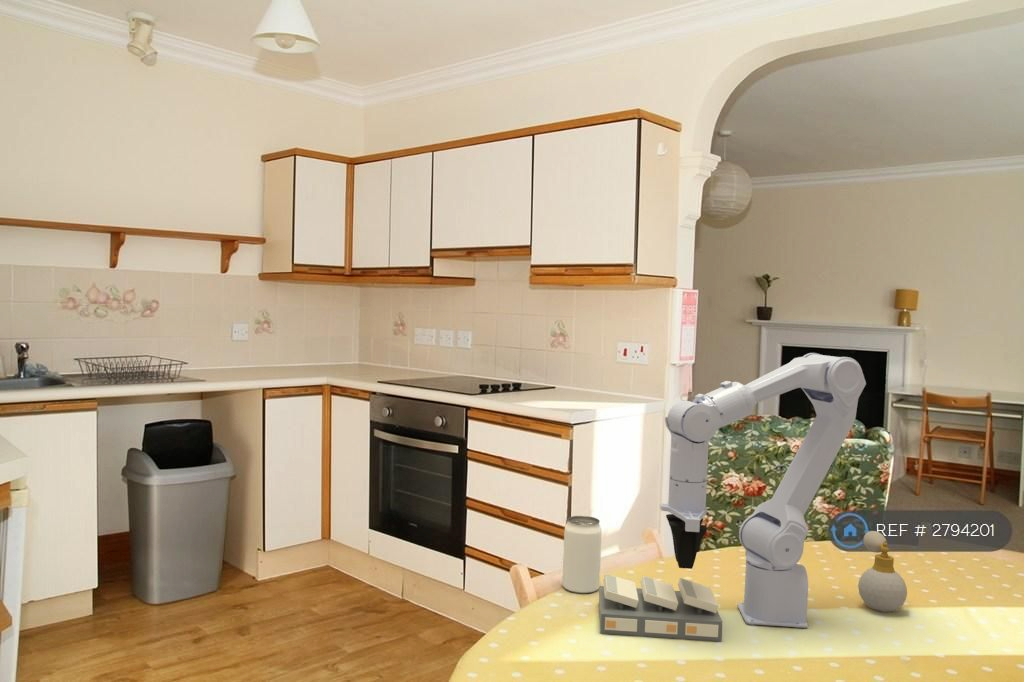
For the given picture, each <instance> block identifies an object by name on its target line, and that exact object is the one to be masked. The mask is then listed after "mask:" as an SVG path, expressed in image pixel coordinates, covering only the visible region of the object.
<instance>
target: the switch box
mask: <svg viewBox="0 0 1024 682" xmlns="http://www.w3.org/2000/svg"><path fill="white" fill-rule="evenodd" d="M636 590H637V595H638V600H639V601H638V604H637V607H636V608H635V607H632V606H628V605H625V604H622V603H619V602H616V601H612V600H609V599H606V598H605V595H604V585H599V589H598V611H599V629H600V634H603V633H604V635H605V634H606V635H618V636H619V635H620V636H635V637H647V638H648V637H650V638H652V637H653V638H664V639H677V640H678V639H681V640H692V641H694V640H695V641H705V642H706V641H707V642H723V641H722V639H723V620H722V618H721V615H720V612H719V610H718V609H717V612H716V613H714V612H711V611H707V610H704V609H701V608H698V607H694V606H691V605H688V604H685V603H684V602H683V599H682V596H681V593H680V590H674V591H675V594H676V597H677V601H678V606H677V609H676V610H673V609H669V608H666V607H663V606H660V605H657V604H653V603H650V602H647V601H644V597H643V592H642V588H637V587H636Z"/></svg>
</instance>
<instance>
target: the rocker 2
mask: <svg viewBox="0 0 1024 682" xmlns="http://www.w3.org/2000/svg"><path fill="white" fill-rule="evenodd" d="M677 587H678V589H679V590H678V591H680V593H681V596H682V599H683V602H684V603H685V604H688V605H691V606H694V607H698V608H701V609H704V610H707V611H711V612H714V613H716V612H717V610H718V608H719V604H718V602H717V600H716V597H715V595H714V593H713V591H712V589H711V587H710V586H707V585H704V584H702V583H698V582H694V581H692V580H688V579H685V578H682V577H679V579H678V583H677Z"/></svg>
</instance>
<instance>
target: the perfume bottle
mask: <svg viewBox="0 0 1024 682" xmlns="http://www.w3.org/2000/svg"><path fill="white" fill-rule="evenodd" d="M862 540H863V545H864V546H865V547H866V549H868V550H869V551H870V552H873V553H876V554H875V555H874V563H873V565H872V567H869V568H867V569H866V570H865V571H863V573H862V574H861V576H860V577H859V579H858V585H857V587H858V588H857V589H858V593H859V596H860V598H861V600H862V601H863V602H864V604H865V605H866V606H867V607H869V608H870V609H872V610H874V609H875V610H874V611H877V610H878V611H877V612H882V611H883V612H884V613H890V612H891V613H892V612H894V611H898V610H899V609H900V608H901V607H902V606H903V605H904V603H905V601H906V600H907V597H908V596H907V595H908V590H907V589H908V588H907V585H906V582H905V580H904V578H903V577H902V576H901V574H900V573H898V572H897V571H896V570H895V568H894V564H895V563H894V560H895V558H894V557H893V556H891V555H889V554H888V553H889V551H890V549H889V547H888V540H887V539H886V537H885V536H884V535H883V534H882V533H881V532H879V531H876V530H870V531H868V532H866V533H865V534H864V536H863V539H862ZM877 553H879V554H877Z"/></svg>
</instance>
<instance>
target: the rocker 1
mask: <svg viewBox="0 0 1024 682" xmlns="http://www.w3.org/2000/svg"><path fill="white" fill-rule="evenodd" d="M602 581H603V586H604V595H605V598H606V599H609V600H612V601H616V602H619V603H622V604H625V605H628V606H632V607H635V608H636V607H637V604H638V601H639V600H638V595H637V590H636V588H637V586H636V582H634V581H632V580H629V579H625V578H623V577H619V576H616V575H612V574H609V573H604V577H603V580H602Z"/></svg>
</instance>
